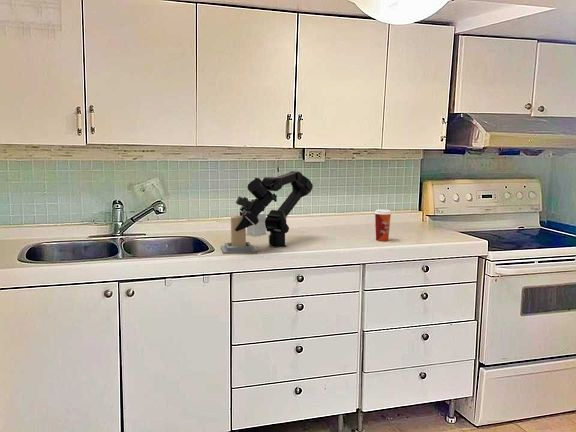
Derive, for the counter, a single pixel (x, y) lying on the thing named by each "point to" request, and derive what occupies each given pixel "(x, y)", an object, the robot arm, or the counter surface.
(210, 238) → the counter surface
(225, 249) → the tray
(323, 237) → the counter surface
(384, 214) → the paper cup
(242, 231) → the carton
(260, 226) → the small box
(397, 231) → the counter surface
